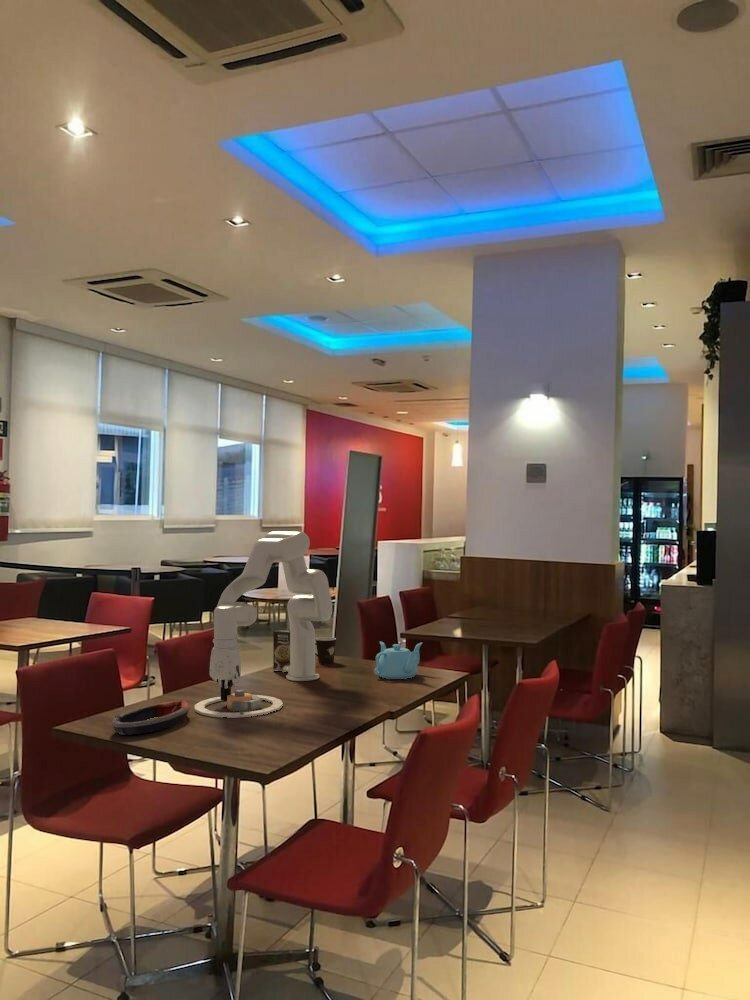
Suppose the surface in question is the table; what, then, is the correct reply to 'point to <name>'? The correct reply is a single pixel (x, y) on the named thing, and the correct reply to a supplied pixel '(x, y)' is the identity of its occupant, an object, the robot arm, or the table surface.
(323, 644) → the coffee mug
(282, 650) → the coffee box
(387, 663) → the teapot
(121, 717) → the dish
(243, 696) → the orange pumpkin
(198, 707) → the turntable ring
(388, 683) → the table surface
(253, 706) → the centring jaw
